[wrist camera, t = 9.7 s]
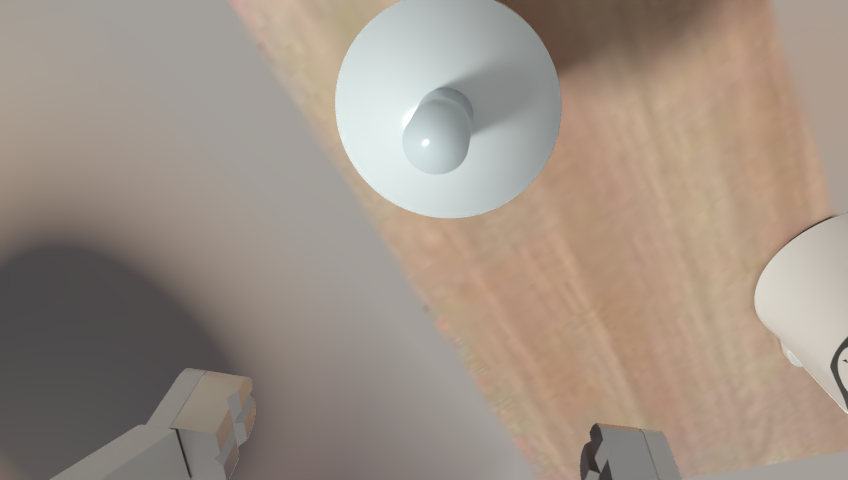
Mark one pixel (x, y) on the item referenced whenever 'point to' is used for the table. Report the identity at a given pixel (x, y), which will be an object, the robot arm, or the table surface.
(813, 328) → the robot arm
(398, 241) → the table surface
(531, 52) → the lid
